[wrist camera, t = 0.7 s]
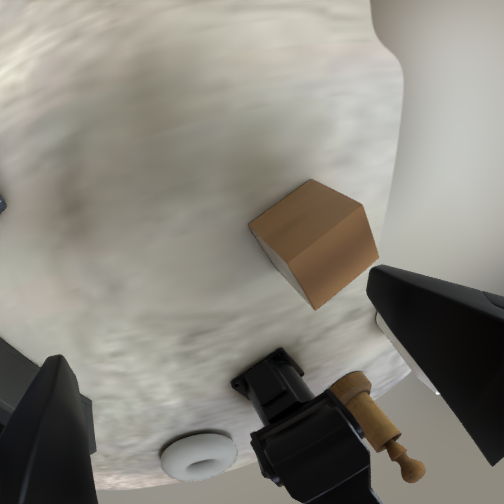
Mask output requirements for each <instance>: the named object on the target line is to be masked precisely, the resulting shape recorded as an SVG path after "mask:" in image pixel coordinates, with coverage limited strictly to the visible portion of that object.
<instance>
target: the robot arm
mask: <svg viewBox="0 0 504 504" xmlns="http://www.w3.org/2000/svg"><path fill="white" fill-rule="evenodd" d="M366 292H367V296H368V298H369V299H370V301H371V302H372V304H373V305H374V307H375V308H376V310H377V311H378V312H379V314H380V315H381V317H382V318H383V320H384V322H385V323H386V325H387V326H388V328H389V329H390V330H391V332H392V333H393V334H394V336H395V337H396V338H397V340H398V341H399V342H400V343H401V345H402V346H403V347H404V348H405V350H406V351H407V352H408V353H409V355H410V356H411V357H412V358H413V360H414V361H415V362H416V363H417V365H418V366H419V367H420V369H421V370H422V371H423V372H424V374H425V375H426V376H427V378H428V379H429V380H430V382H431V383H432V384H433V385H434V387H435V388H436V389H437V391H438V392H439V393H440V395H441V396H442V397H443V399H444V400H445V401H446V403H447V404H448V405H449V407H450V408H451V410H452V411H453V412H454V414H455V415H456V416H457V417H458V419H459V420H460V422H461V423H462V425H463V426H464V428H465V429H466V431H467V432H468V433H469V435H470V436H471V438H472V439H473V440H474V442H475V443H476V445H477V446H478V447H479V449H480V451H481V452H482V453H483V455H484V456H485V458H486V459H487V461H488V462H489V463H490V465H491V466H494V465H495V464H496V463H497V462H498V461H500V460H501V459H502V458H503V457H504V297H503V296H499V295H496V294H492V293H488V292H485V291H480V290H477V289H473V288H470V287H466V286H462V285H458V284H455V283H451V282H448V281H443V280H440V279H436V278H433V277H428V276H425V275H421V274H417V273H413V272H410V271H406V270H402V269H398V268H394V267H390V266H387V265H378V266H375V267H373V268H371V270H370V272H369V277H368V283H367V288H366ZM303 375H304V372H303V371H302V369H301V368H300V367H299V366H298V365H297V364H296V363H295V361H294V360H293V359H292V358H291V357H290V356H289V355H288V353H287V352H286V351H285V350H284V349H283V348H279V349H277V350H276V351H274V352H273V353H271V354H270V355H269V356H267V357H266V358H265V359H263V360H262V361H260V362H259V363H258V364H256V365H255V366H253V367H252V368H250V369H249V370H248V371H246V372H245V373H243V374H242V375H240V376H239V377H237V378H236V379H235V380H233V381H232V382H231V386H232V388H233V389H235V390H236V391H238V392H239V393H240V394H242V395H243V396H245V397H246V398H248V399H249V400H250V401H251V402H252V404H253V406H254V408H255V410H256V412H257V413H258V415H259V417H260V419H261V421H262V423H263V424H264V426H265V427H264V428H262V429H260V430H258V431H256V432H255V431H254V432H252V433H250V435H251V438H252V441H251V442H250V444H251V446H252V447H253V449H254V451H255V453H256V456H257V459H258V462H259V466H260V469H261V473H262V475H263V476H264V478H268V479H271V480H272V481H273V482H274V483H275V484H276V485H277V486H279V487H282V486H285V488H286V489H287V491H288V493H289V494H290V495H291V497H292V498H294V499H295V500H297V501H299V502H301V503H303V504H383V503H382V502H381V500H380V499H379V498H378V496H377V495H376V494H375V492H374V491H373V489H372V488H371V472H370V471H371V468H370V451H369V449H368V448H367V447H366V445H365V444H364V442H363V441H362V439H363V438H365V433H364V431H363V429H362V427H361V426H360V424H359V423H358V421H357V420H356V418H355V417H354V416H353V414H352V413H351V412H350V411H349V410H348V409H347V408H346V406H345V405H344V404H343V403H342V402H341V401H340V400H339V399H338V398H337V397H336V396H335V394H334V393H333V392H332V391H331V390H330V389H329V388H328V389H326V390H325V391H324V392H323V393H322V394H320V395H319V396H317V397H315V396H314V395H313V394H312V392H311V391H310V389H309V388H308V387H307V385H306V384H305V382H304V381H303V380H302V378H301V377H302V376H303ZM0 504H98V500H97V495H96V490H95V484H94V479H93V472H92V466H91V459H90V452H89V443H88V436H87V430H86V425H85V420H84V415H83V410H82V405H81V399H80V393H79V387H78V382H77V378H76V376H75V374H74V373H73V371H72V369H71V368H70V366H69V364H68V362H67V361H66V359H65V357H64V356H63V355H60V354H59V355H54V356H50V357H48V358H47V359H46V360H45V362H44V363H43V365H42V367H41V368H40V370H39V371H38V373H37V374H36V376H35V377H34V379H33V380H32V382H31V384H30V385H29V387H28V388H27V390H26V392H25V393H24V395H23V397H22V398H21V400H20V401H19V403H18V405H17V406H16V408H15V410H14V412H13V413H12V415H11V417H10V418H9V420H8V422H7V424H6V426H5V427H4V429H3V431H2V433H1V435H0Z"/></svg>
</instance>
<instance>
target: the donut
mask: <svg viewBox="0 0 504 504" xmlns="http://www.w3.org/2000/svg"><path fill="white" fill-rule="evenodd" d="M237 454H238V451H237V448H236V446H235V444H234V442H233V441H232V440H230V439H229V438H227V437H225V436H222V435H218V434H199V435H193V436H189V437H186V438H183V439H181V440H179V441H177V442H174V443H173V444H171V445H170V446H169V447H168V448H166V450H165V451H164V452H163V454H162V456H161V467H162V469H163V471H164V472H165V473H166V474H167V475H168V476H169V477H171V478H173V479H176V480H179V481H199V480H204V479H208V478H211V477H214V476H217V475H219V474H221V473H223V472H224V471H226V470H227V469H229V468H230V467H231V466H232V465H233V464H234V463H235V461H236V458H237Z"/></svg>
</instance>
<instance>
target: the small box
mask: <svg viewBox="0 0 504 504" xmlns="http://www.w3.org/2000/svg"><path fill="white" fill-rule="evenodd" d="M5 208H6V204H5V202H4V200H3V199H2V197H1V196H0V214H1V212H2V211H4V210H5Z"/></svg>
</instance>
